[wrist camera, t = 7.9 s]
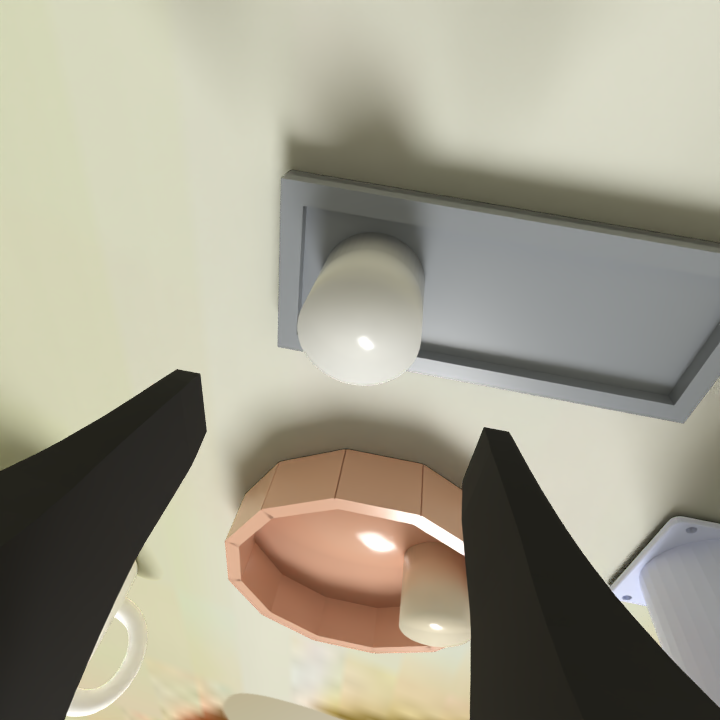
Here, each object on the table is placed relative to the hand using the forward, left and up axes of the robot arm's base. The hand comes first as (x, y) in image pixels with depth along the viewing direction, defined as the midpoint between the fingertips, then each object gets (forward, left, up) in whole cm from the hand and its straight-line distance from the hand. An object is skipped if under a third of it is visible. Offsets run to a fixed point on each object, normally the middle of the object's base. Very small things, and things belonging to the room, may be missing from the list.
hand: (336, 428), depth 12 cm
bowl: (-2, +18, -8) cm, 20 cm away
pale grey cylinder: (0, 0, -8) cm, 8 cm away
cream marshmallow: (-6, +18, -8) cm, 20 cm away
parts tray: (-5, 0, -8) cm, 10 cm away
